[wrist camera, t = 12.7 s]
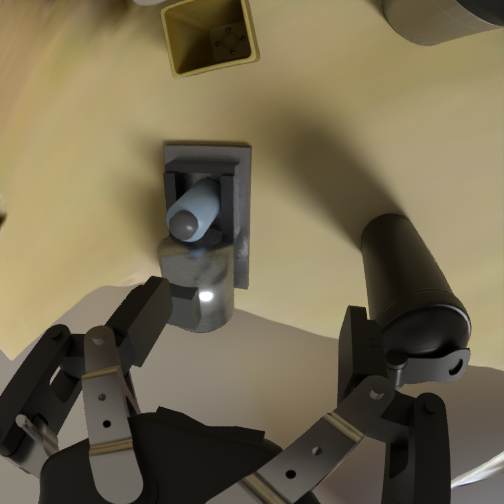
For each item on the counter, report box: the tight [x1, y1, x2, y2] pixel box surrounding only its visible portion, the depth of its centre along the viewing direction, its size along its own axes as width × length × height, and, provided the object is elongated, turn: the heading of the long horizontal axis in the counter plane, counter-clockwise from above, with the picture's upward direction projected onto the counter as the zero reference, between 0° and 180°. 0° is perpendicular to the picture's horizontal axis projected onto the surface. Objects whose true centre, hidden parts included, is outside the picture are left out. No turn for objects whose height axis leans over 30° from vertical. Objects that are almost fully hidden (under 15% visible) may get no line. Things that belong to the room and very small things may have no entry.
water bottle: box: [361, 214, 471, 390], centre depth 30 cm, size 10×10×23 cm
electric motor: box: [158, 145, 252, 333], centre depth 39 cm, size 24×12×13 cm, turn 179°
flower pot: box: [161, 0, 260, 79], centre depth 26 cm, size 9×9×9 cm
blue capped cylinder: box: [166, 179, 221, 242], centre depth 37 cm, size 5×5×9 cm
